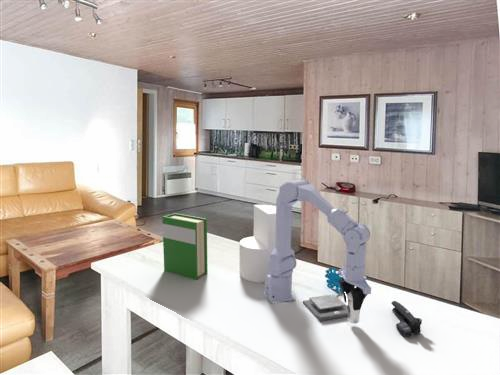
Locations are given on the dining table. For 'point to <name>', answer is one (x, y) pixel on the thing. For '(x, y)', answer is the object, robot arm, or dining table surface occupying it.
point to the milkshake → (352, 310)
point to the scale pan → (327, 302)
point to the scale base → (326, 312)
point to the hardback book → (185, 245)
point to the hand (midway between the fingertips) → (352, 305)
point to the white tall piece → (259, 245)
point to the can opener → (406, 320)
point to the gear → (333, 279)
